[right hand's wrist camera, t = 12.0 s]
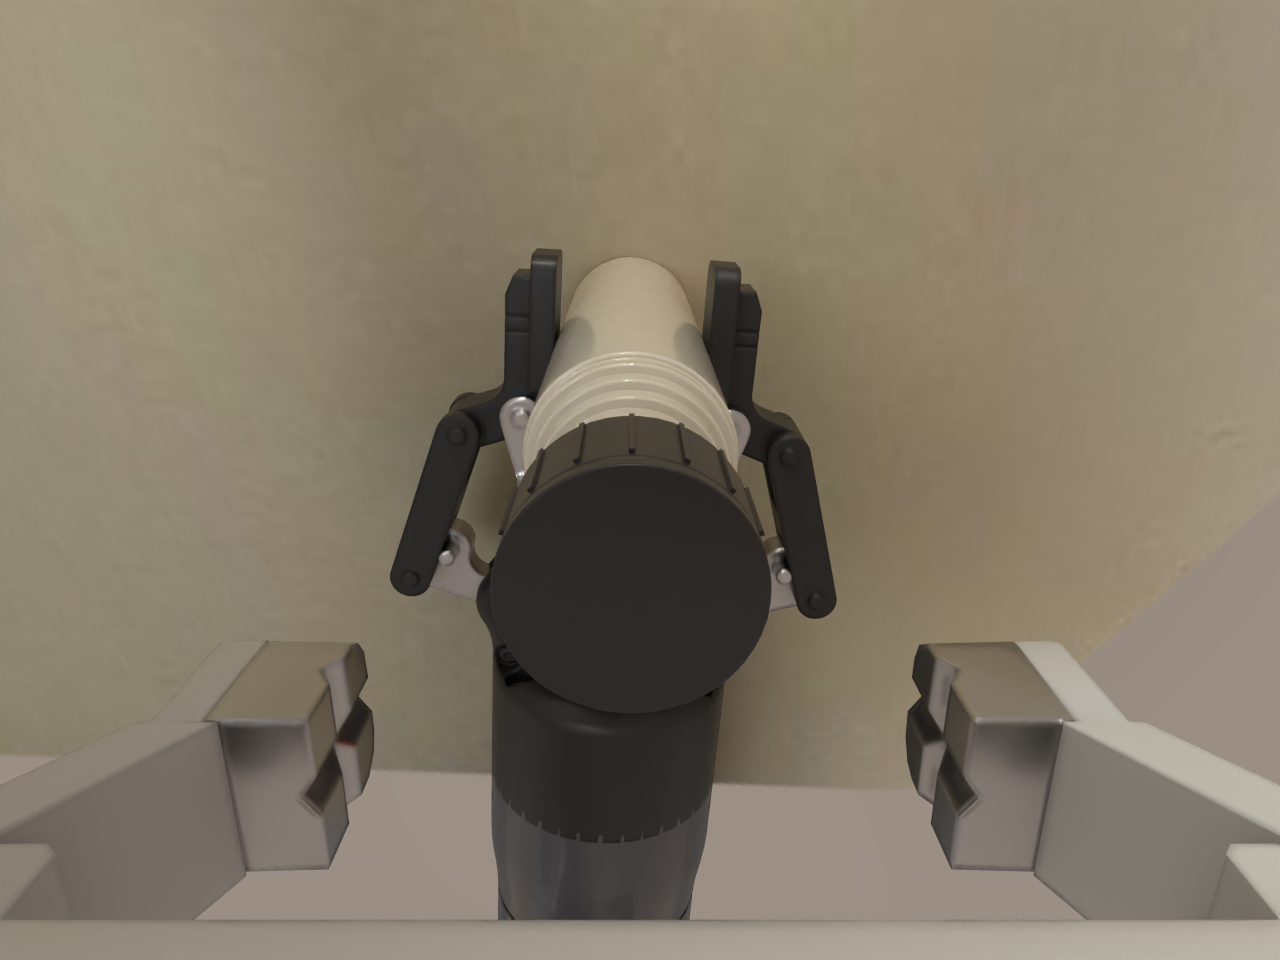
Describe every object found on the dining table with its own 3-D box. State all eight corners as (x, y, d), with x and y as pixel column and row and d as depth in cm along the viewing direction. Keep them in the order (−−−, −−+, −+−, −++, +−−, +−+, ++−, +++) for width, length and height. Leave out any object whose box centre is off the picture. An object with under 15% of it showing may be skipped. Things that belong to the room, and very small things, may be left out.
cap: (482, 438, 14) (455, 490, 11) (733, 390, 13) (752, 437, 11) (539, 653, 15) (525, 736, 13) (768, 614, 15) (791, 691, 13)
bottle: (557, 269, 30) (444, 470, 12) (679, 246, 30) (760, 413, 12) (583, 387, 32) (519, 730, 13) (699, 365, 32) (800, 683, 13)
